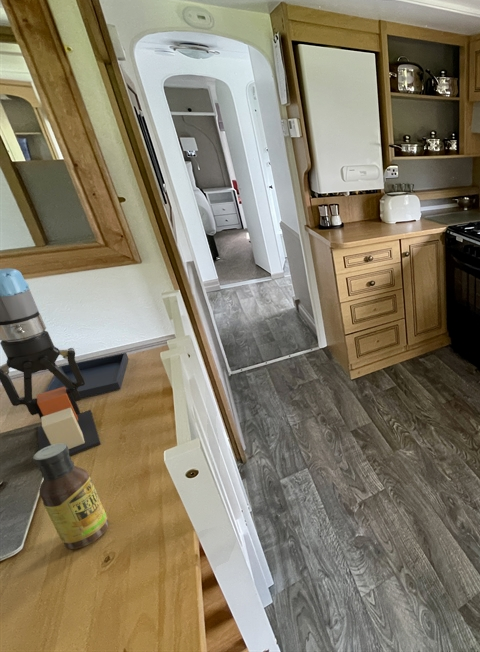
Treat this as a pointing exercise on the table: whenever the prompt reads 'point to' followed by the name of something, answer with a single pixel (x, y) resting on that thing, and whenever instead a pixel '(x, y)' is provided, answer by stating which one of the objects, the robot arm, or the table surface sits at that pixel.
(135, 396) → the table surface
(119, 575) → the table surface
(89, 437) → the mat
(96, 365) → the tray
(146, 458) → the table surface
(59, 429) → the cream block
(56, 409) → the rust block
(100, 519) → the sauce bottle
